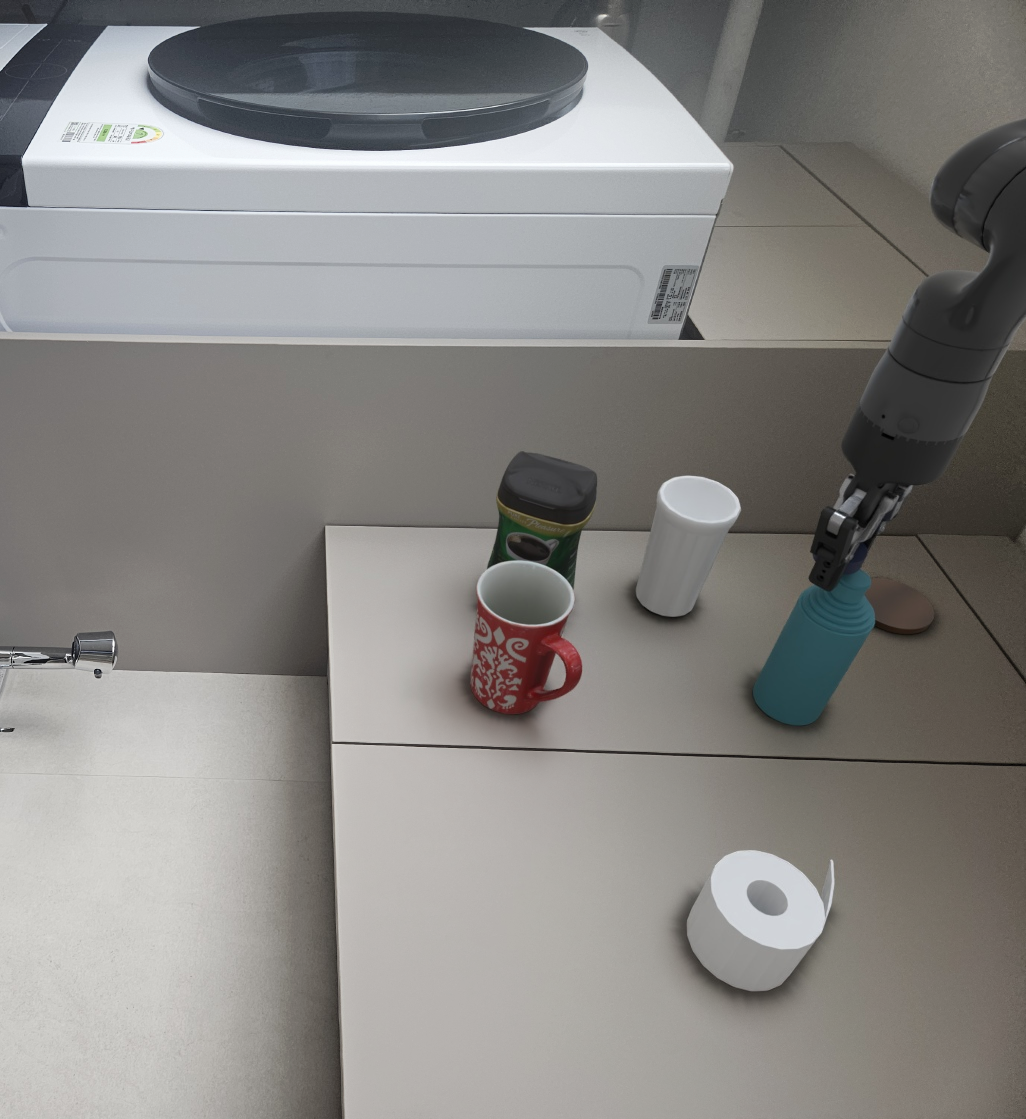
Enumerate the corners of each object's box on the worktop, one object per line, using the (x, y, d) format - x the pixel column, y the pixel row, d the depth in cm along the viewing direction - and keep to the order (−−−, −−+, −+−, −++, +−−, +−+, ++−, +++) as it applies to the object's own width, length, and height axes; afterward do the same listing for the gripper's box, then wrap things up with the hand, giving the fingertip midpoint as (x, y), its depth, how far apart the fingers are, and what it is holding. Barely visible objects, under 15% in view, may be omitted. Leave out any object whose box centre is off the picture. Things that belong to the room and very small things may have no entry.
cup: (699, 633, 104) (740, 532, 94) (621, 613, 106) (654, 513, 97) (704, 585, 110) (744, 484, 100) (631, 567, 112) (662, 467, 102)
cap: (806, 543, 87) (811, 531, 86) (852, 543, 87) (858, 531, 85) (820, 574, 84) (826, 562, 83) (868, 575, 84) (874, 563, 83)
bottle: (828, 695, 97) (902, 571, 86) (810, 736, 94) (885, 613, 82) (763, 666, 100) (827, 542, 89) (743, 705, 97) (807, 581, 85)
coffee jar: (577, 594, 109) (613, 460, 96) (555, 640, 104) (590, 504, 91) (494, 567, 112) (519, 434, 100) (470, 609, 107) (492, 475, 95)
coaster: (939, 603, 107) (942, 598, 106) (921, 645, 102) (924, 640, 102) (862, 573, 111) (864, 568, 110) (841, 612, 106) (844, 607, 106)
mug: (442, 671, 100) (457, 576, 91) (515, 643, 103) (536, 548, 94) (515, 761, 92) (538, 667, 83) (591, 728, 95) (622, 633, 86)
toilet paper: (824, 912, 80) (856, 868, 76) (768, 1013, 74) (799, 972, 70) (728, 852, 85) (753, 807, 80) (668, 943, 78) (691, 900, 74)
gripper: (908, 359, 80) (833, 520, 92) (820, 423, 73) (751, 587, 85) (1006, 397, 76) (913, 560, 87) (921, 468, 69) (834, 634, 81)
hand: (834, 572), depth 86 cm, fingers closed on cap, 4 cm apart
